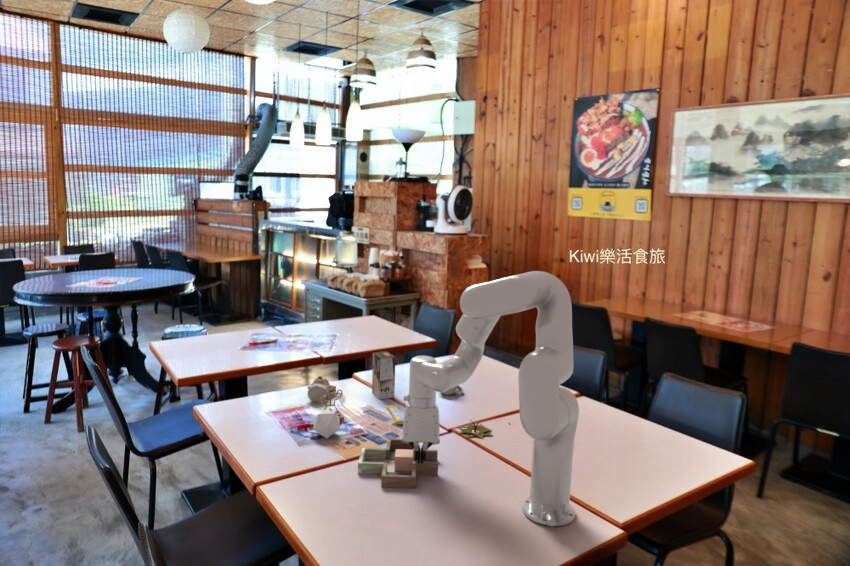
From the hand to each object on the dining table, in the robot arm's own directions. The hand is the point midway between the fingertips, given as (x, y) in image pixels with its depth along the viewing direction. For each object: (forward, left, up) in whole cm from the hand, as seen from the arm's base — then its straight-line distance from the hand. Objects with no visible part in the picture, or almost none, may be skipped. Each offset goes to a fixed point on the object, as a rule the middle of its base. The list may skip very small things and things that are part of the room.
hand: (420, 462), depth 163 cm
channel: (0, +6, -1) cm, 6 cm away
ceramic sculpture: (+54, +38, -2) cm, 66 cm away
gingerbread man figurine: (+33, +31, -2) cm, 45 cm away
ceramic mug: (+64, -11, -2) cm, 65 cm away
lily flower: (+26, -18, -2) cm, 32 cm away
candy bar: (+38, +9, -2) cm, 39 cm away
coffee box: (+59, +15, -2) cm, 61 cm away
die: (+20, +30, -2) cm, 36 cm away
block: (0, +5, -1) cm, 5 cm away
